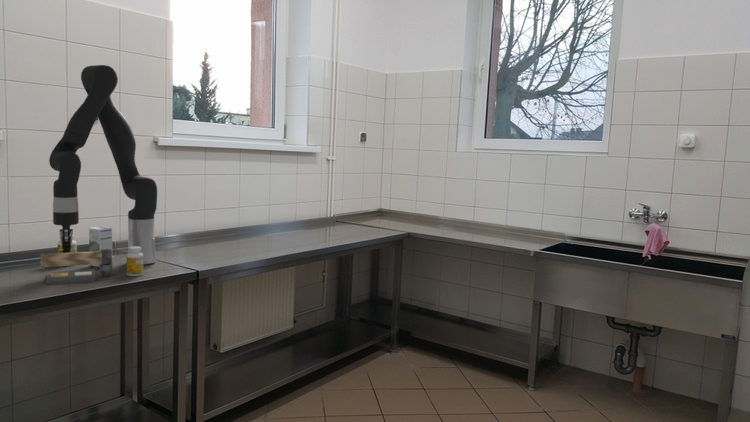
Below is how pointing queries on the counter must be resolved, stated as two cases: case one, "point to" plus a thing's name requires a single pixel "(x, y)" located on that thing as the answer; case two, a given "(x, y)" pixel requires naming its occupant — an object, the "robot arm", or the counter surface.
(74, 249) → the pill bottle
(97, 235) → the syrup box
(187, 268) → the counter surface
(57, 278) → the label mat
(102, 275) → the pivot post
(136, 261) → the supplement bottle
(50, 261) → the tan wooden bar
